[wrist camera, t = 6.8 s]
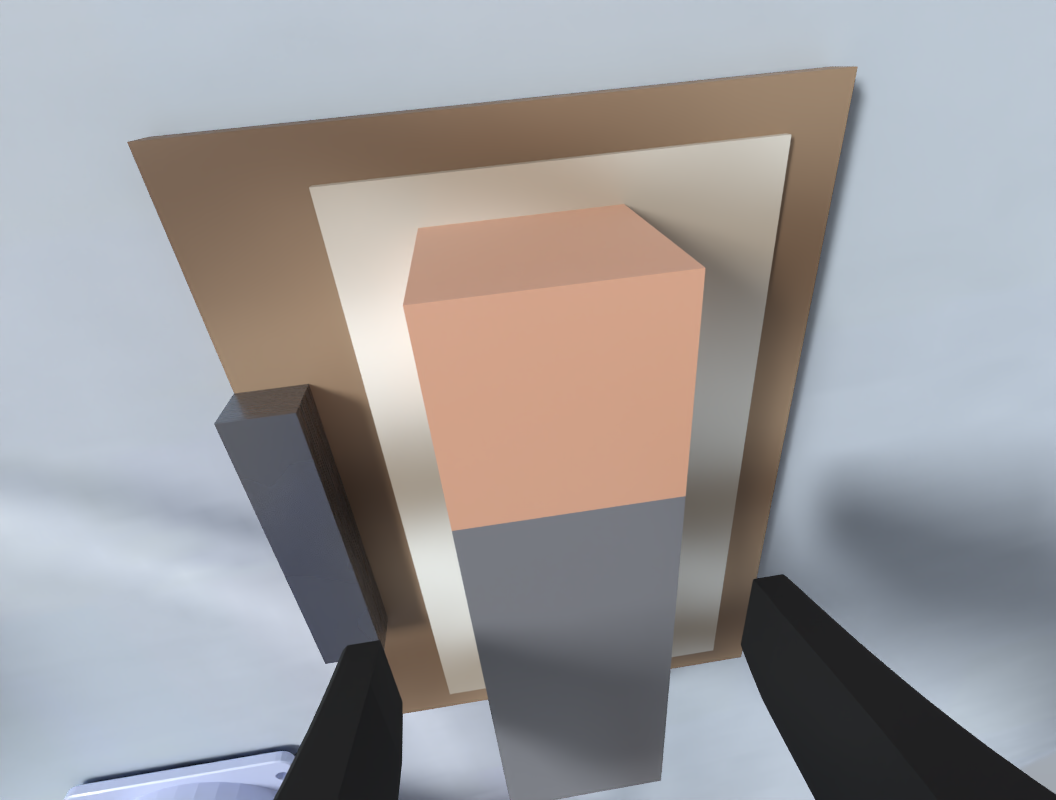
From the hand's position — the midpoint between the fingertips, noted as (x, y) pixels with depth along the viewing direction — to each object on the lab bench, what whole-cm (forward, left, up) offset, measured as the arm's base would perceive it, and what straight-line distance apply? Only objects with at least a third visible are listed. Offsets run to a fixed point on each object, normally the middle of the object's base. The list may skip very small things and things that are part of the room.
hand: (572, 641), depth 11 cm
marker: (0, 0, -4) cm, 4 cm away
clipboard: (0, 0, -5) cm, 5 cm away
